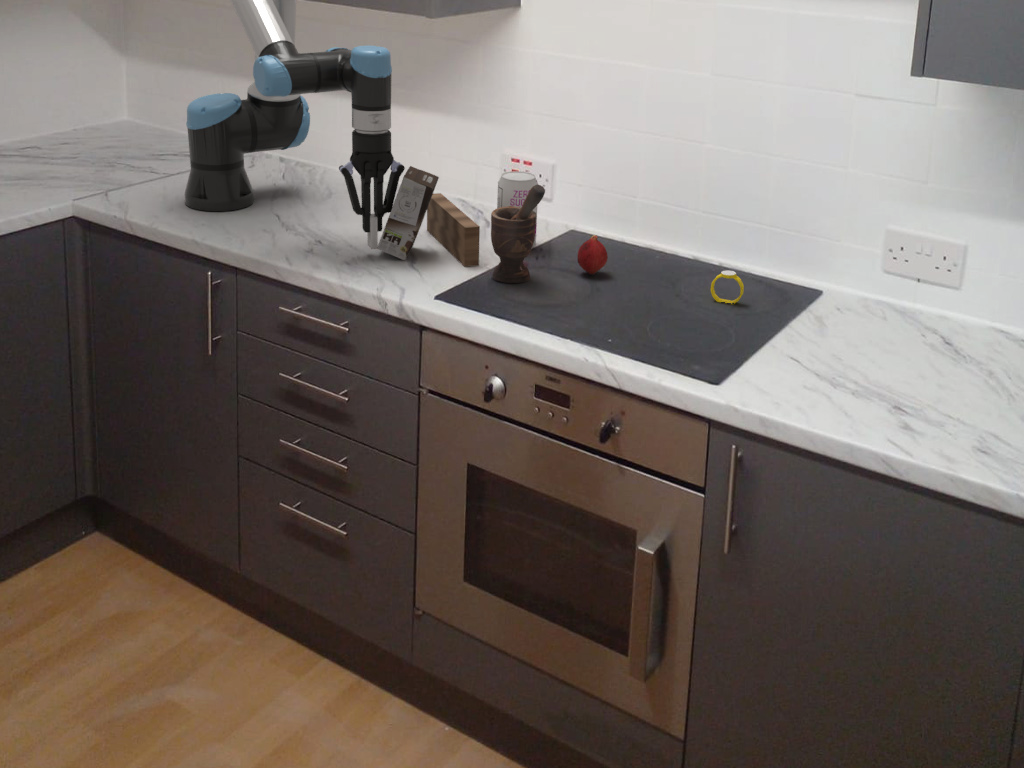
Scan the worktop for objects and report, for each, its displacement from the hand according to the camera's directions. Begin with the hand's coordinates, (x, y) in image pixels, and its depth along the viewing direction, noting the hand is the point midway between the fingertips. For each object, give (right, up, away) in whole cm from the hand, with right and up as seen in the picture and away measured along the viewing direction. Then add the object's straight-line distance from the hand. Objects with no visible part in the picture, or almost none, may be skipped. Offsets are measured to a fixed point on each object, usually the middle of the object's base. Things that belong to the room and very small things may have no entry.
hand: (372, 247), depth 245 cm
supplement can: (+29, +1, +9) cm, 30 cm away
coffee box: (+4, 0, +2) cm, 5 cm away
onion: (+44, -6, -5) cm, 44 cm away
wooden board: (+16, +1, +7) cm, 17 cm away
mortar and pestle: (+29, -8, -9) cm, 32 cm away
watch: (+68, -12, -16) cm, 71 cm away
